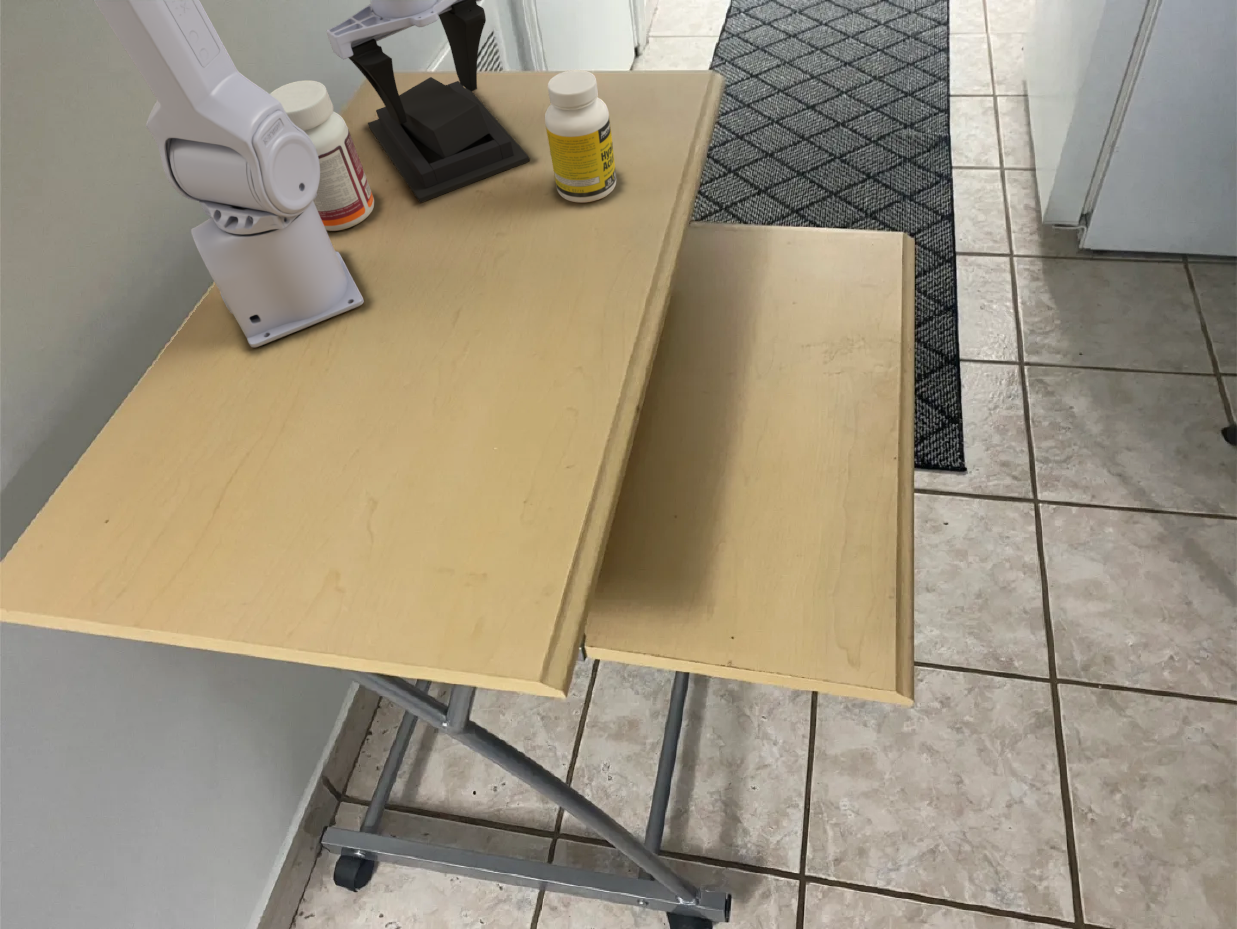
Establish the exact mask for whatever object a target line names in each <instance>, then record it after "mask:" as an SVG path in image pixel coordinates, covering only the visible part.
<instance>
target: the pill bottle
mask: <svg viewBox="0 0 1237 929" xmlns="http://www.w3.org/2000/svg"><path fill="white" fill-rule="evenodd" d="M269 94H270V95H272V96H273V97H274V98H276V99H277V100H278V101H279V102H280V103H281V104H282V106H283V108H284V110H285V112H286V114H287V115H288V117H289V118H290V120H291V121H292V122H293V123H294V124H295V125H296V126H297V127H299V128H300V129H302V130H303V131H304V132H305V133H306V134H307V135H308V136H309V137H310V139H311V140H312V142H313V144H314V146H315V148H316V151H317V154H318V158H319V164H320V181H319V186H318V190H317V196H316V198H315V199H314V200H313V201H314V204H315V206H316V208H317V211H318V213H319V215H320V218H321V220H322V222H323V224H324V227H325V229H326V231H327V232H328V231H329V232H336V231H343V230H347V229H350V228H352V227H354V226H357V225H359V224H360V223H361V222H363V221H365V220H366V219H367V218H368V217H369V216H370V215H371V213H372V212H373V210H374V207H375V198H374V195H373V192H372V188H371V187H370V183H369V181H368V179H367V175H366V173H365V170H364V168H363V164H362V162H361V160H360V157H359V155H358V152H357V149H356V146H355V143H354V141H353V138H352V136H351V133H350V128H349V127H348V126H347V123H346V121H345V119H344V118H343V117H342V116H341V115H340V114H339V113H337V112H336V111H334V110H335V109H334V104H333V101H332V100H331V98H330V95H329V92H328V89H327V87H326V86H325V85H324V84H323V83H322V82H319V81H316V80H310V79H309V80H297V81H293V82H289V83H285V84H284V85H281V86H279V87H277V88H275V89H274V90H273V91H271V92H269Z"/></svg>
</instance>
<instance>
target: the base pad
mask: <svg viewBox="0 0 1237 929" xmlns="http://www.w3.org/2000/svg"><path fill="white" fill-rule="evenodd" d="M445 85H446V86H448V87H450V88H451V89H453V90H455V91H457V92H458V93H460V94H462V95H464V96H465V97H467V98H469V99H471V100H472V101H474V102H476V103H478V104H479V107H480V109H481V112H482V114H483V117H484V119H485V122H486V124H487V127H488V129H489V132H490V133H489V134H487V135H486V136H484V137H482V138H481V139H479V140H477V141H476V142H474V143H472V144H471V145H469V146H467V147H466V148H464V149H463V150H461V151H459V152H458V153H456V154H454V155H452V156H449V157H447V158H443V157H441V156H440V155H438V154H437V153H435V152H434V151H433V150H431V149H430V148H428V147H427V146H425V145H424V144H422V143H421V142H419V141H418V140H416V139H415V138H414V137H412V136H411V135H409V134H408V133H406V132H405V130H404V129H403V128H402V126H401V125H400V124H399V123H397V122H396V121H395V120H394V119H392V118H391V117H390V114H389V112H388V110H387V108H386V107H385V106H383V107H380V108H377V109H376V110H375V113H376V115H377V119H375V120H372V121H369V122H367V126H368V128H369V129H370V131H371V132H372V134H373V135H374V137H375V138H376V140H377V141H378V143H379V145H380V146H381V148H383V150H384V152H385V153H386V155H387V156H388V158H389V159H390V161H391V162H392V163H393V165H394V166H395V168H396V170H397V171H398V173H399V174H400V176H401V177H402V178H403V181H404V182H405V183H406V184H407V186H408V188H409V189H410V190H411V192H412V194H413V195H414V196H415V198H416V199H417V201H418V202H419V203H421V204H422V203H424V202H426V201H429V200H433V199H434V198H437V197H440V196H442V195H445V194H448V193H450V192H453V191H456V190H458V189H461V188H464V187H466V186H468V185H469V186H470V185H472V184H473V183H476V182H479V181H481V180H484V179H487V178H489V177H492V176H495V175H497V174H500V173H503V172H505V171H507V170H510V169H513V168H515V167H518V166H520V165H524V164H526V163H529V162H530V161H531V160H530V156H529V155H528V153H526V151H524V149H523V148H522V147H521V146H520V145H519V144H518V143H517V141H516V140H515V139H514V138H513V137H512V136H511V134H510V133H509V132H508V131H507V130H506V129H505V128H504V127H503V125H502V124H501V123H500V121H498V119H497V118H495V116H494V115H493V114H492V113H491V112H490V110H488V108H487V107H486V106H485V105H484V104H483V103H482V101H480V99H479V98H478V97H477V96H476V95H475V94H474V92H473V91H472V92H471V91H470V90H468V89H467V88H465V87H464V86H462V85H461V84H460V81H459V80H456V81H453V82H451V83H448V84H445Z"/></svg>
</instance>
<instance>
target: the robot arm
mask: <svg viewBox="0 0 1237 929" xmlns="http://www.w3.org/2000/svg"><path fill="white" fill-rule="evenodd" d="M481 1H482V0H369V2H370V4H368V5H366V6H365V7H363V8H361V9H360V10H358V11H357V12H355V13H354V14H353V15H351V16H349V17H348V18H346V19H345V20H344V21H342V22H339V23H338V24H336V25H334V26H332V27H330V28H328V29H326V30H325V33H326V36H327V38H328V42H329V44H330V46H331V50H332V53H334V55H336V56H337V57H339V58H340V59H341V60H346V59H348V60H350V61H351V62H352V64H354V66H355V67H356V68H357V69H358V70H359V72H360V73H361V74H362V75H363V76H364V77H365V79H366V80H367V81H368V83H370V85H371V86H372V88H373V90H374V91H375V92H376V93H377V95H378V96H379V98H380V100H381V101H382V104H383V105H384V107H386V108H387V110H388V112H389V114H390V117H391V118H392V119H394V120H395V121H396V122H397V123H399V124H403V123H405V122H407V119H406V114H405V111H404V108H403V105H402V102H401V99H400V97H399V95H400V94H399V91H398V87H397V82H396V77H395V72H394V65H393V57H391V56H389V55H387V54H386V52H384V51H383V48H382V46H381V45H378V42H380V41H381V40H383V39H386V38H388V37H391V36H392V35H395V34H397V33H400V32H402V31H404V30H407V29H409V28H411V27H414V26H415V27H417V28H424V27H426V26H429V25H431V24H433V23H435V22H438V20H440V23H441V25H442V28H443V30H444V34H445V35H446V36H445V37H446V38H447V42H448V45H449V47H450V51H451V55H452V60H453V64H454V68H455V74H456V75H457V79H458V81H459V82H460V84H461V85H462V86H463V87H464V88H467V89H468V90H470V91H471V92H472V93H473V92H474V91H476V90H478V58H479V48H480V43H481V39H482V34H483V30H484V28H485V25H486V22H487V19H486V18H487V17H486V13H485V12H486V11H485V9H484V8H483V7H482V6H480V5H479V4H478V2H481ZM93 2H94V3H95V5H96V7H97V8H98V10H99V12H100V14H102V16H103V18H104V19H105V21H106V22H107V24H108V26H109V27H110V28H111V30H112V32H113V33H114V35H115V36H116V38H117V39H118V41H119V43H120V44H121V46H122V48H123V49H124V50H125V52H126V54H127V55H128V56H129V58H130V60H131V61H132V63H133V64H134V66H135V68H136V69H137V71H138V72H139V73H140V76H141V78H143V80H144V81H145V83H146V85H147V86H148V88H149V89H150V91H151V92H152V94H153V95H154V97H155V99H156V102H155V103H154V104H153V107H152V108H151V111H150V113H149V115H148V118H147V120H146V123H145V128H146V129H147V131H148V132H149V134H150V135H151V137H152V139H153V140H154V142H155V144H156V146H157V149H158V152H159V155H160V160H161V165H162V169H163V172H164V175H165V177H166V179H167V181H168V183H169V184H170V185H171V187H172V188H173V189H174V190H175V191H176V192H177V193H178V194H179V195H181V196H182V197H184V198H186V199H188V200H191V201H196V202H198V203H199V205H200V207H201V208H202V210H203V212H204V213H205V215H206V216H208V217H209V218H208V219H207V220H205V221H203V222H201V223H200V224H198V225H196V226H194V227H193V228H191V229H190V234H191V236H192V239H193V241H194V244H195V246H196V248H197V251H198V253H199V255H200V257H201V259H202V261H203V263H204V265H205V267H206V269H207V271H208V273H209V275H210V276H211V278H212V281H213V282H214V284H215V286H216V287H217V290H218V291H219V293H220V296H221V299H222V301H223V302H224V304H225V306H226V309H227V310H228V311H229V313H230V314H232V315H233V317H234V318H235V320H236V322H237V323H238V325H239V328H240V329H241V330H242V332H243V334H244V336H245V338H246V339H247V343H248V345H249V346H250V347H251V348H258V347H261V346H263V345H266V344H269V343H272V342H274V341H276V340H279V339H282V338H284V337H286V336H288V335H290V334H293V333H296V332H299V331H301V330H303V329H306V328H308V327H311V326H313V325H316V324H318V323H320V322H323V321H326V320H328V319H330V318H333V317H336V316H338V315H340V314H343V313H345V312H348V311H351V310H353V309H356V308H358V307H360V306H362V305H363V304H364V302H365V300H364V298H363V296H362V293H361V292H360V289H359V288H358V285H357V284H356V282H355V279H354V278H353V276H352V274H351V272H350V271H349V269H348V266H347V265H346V263H345V261H344V259H343V258H342V256H341V253H340V252H339V251H338V250H337V251H336V250H335V247H334V245H333V243H332V241H331V238H330V235H329V233H328V231H327V230H326V229H325V227H324V224H323V222H322V220H321V218H320V215H319V213H318V211H317V208H316V206H315V204H314V201H313V200H314V199H315V198H316V196H317V190H318V186H319V181H320V164H319V158H318V154H317V151H316V148H315V146H314V144H313V142H312V140H311V139H310V137H309V136H308V135H307V134H306V133H305V132H304V131H303V130H302V129H300V128H299V127H297V126H296V125H295V124H294V123H293V122H292V121H291V120H290V118H289V117H288V115H287V114H286V112H285V110H284V108H283V106H282V104H281V103H280V102H279V101H278V100H277V99H276V98H274V97H273V96H272V95H270V92H267V90H265V89H264V88H262V87H260V86H259V85H257V84H256V83H254V82H253V81H252V80H250V79H249V78H247V77H246V76H245V75H243V74H242V73H241V71H239V70H238V68H237V67H236V65H235V63H234V61H233V59H232V57H231V56H230V53H228V50H227V49H226V47H225V45H224V43H223V41H222V39H221V38H220V36H219V34H218V32H217V30H216V28H215V26H214V24H213V23H212V21H211V19H210V18H209V16H208V14H207V12H206V10H205V8H204V6H203V4H202V3H201V1H200V0H93Z"/></svg>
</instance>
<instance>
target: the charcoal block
mask: <svg viewBox="0 0 1237 929" xmlns="http://www.w3.org/2000/svg"><path fill="white" fill-rule="evenodd" d="M446 85H447V84H444V83H443V82H442V81H440V80H437V79H435V78H434V77H432V76H430V77H428V78H427V79H425V80H423V81H421V82H419V83H418V84H416V85H414V86H413V87H411V88H409V89H407V90H406V91H404V92H403V93H401V94H399V97H400V99H401V102H402V105H403V108H404V111H405V114H406V119H407V122H405V123H403V124H400V125H401V126H402V128H403V129H404V130H405V132H406V133H408V134H409V135H411V136H412V137H414V138H415V139H416V140H418V141H419V142H421V143H422V144H424V145H425V146H427V147H428V148H430V149H431V150H433V151H434V152H435V153H437V154H438V155H440V156H441V157H443V158H447V157H449V156H452V155H454V154H456V153H458V152H459V151H461V150H463V149H464V148H466V147H467V146H469V145H471V144H472V143H474V142H476V141H477V140H479V139H481V138H482V137H484V136H486V135H487V134H489V133H490V132H489V129H488V127H487V124H486V122H485V119H484V117H483V114H482V112H481V109H480V107H479V104H478V103H476V102H474V101H472V100H471V99H469V98H467V97H465V96H464V95H462V94H460V93H458V92H457V91H455V90H453V89H451V88H450V87H448V86H446Z"/></svg>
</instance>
